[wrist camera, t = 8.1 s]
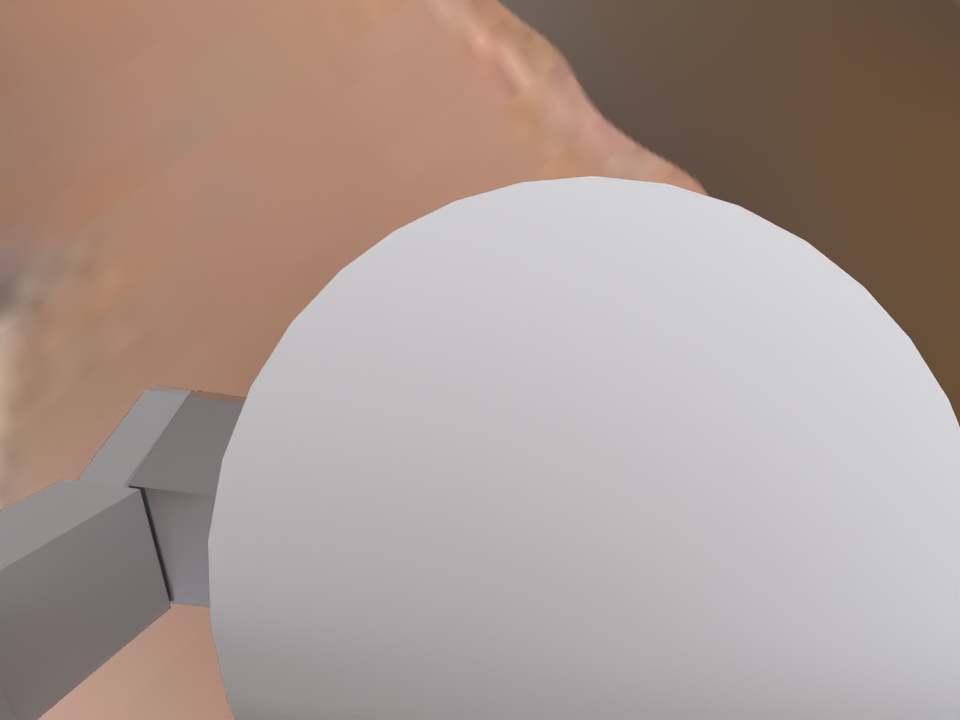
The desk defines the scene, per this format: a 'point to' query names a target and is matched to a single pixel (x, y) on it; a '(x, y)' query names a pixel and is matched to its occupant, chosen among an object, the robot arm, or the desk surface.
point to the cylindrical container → (590, 479)
